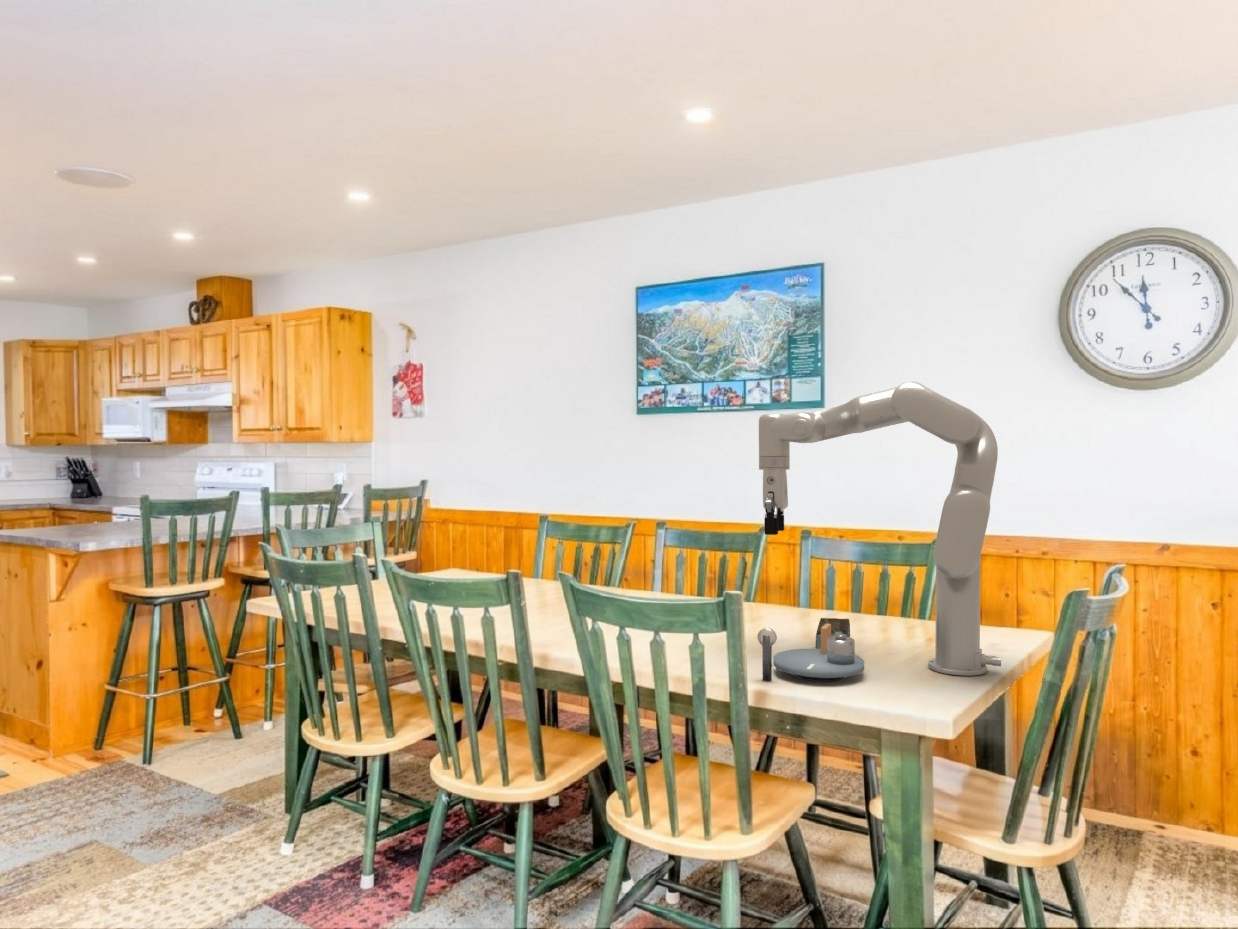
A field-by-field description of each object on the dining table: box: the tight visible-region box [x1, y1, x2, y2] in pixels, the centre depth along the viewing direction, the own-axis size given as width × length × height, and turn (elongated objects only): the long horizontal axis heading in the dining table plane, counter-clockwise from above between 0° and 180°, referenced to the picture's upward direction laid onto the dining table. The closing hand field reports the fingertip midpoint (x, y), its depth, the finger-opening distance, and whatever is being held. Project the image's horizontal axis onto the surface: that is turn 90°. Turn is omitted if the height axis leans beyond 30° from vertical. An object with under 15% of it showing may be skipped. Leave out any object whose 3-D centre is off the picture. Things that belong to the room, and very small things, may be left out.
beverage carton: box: [815, 617, 851, 649], centre depth 219 cm, size 8×19×7 cm, turn 163°
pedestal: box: [792, 674, 845, 682], centre depth 195 cm, size 12×12×2 cm
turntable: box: [772, 624, 865, 678], centre depth 196 cm, size 20×20×8 cm
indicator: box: [757, 627, 778, 682], centre depth 190 cm, size 4×2×12 cm, turn 64°
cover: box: [827, 634, 856, 665], centre depth 193 cm, size 6×6×6 cm
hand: (774, 532), depth 215 cm, fingers open, 9 cm apart
